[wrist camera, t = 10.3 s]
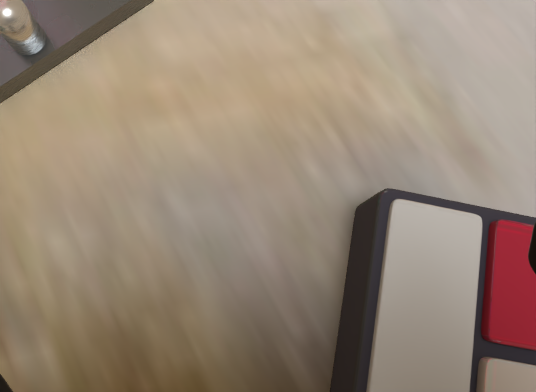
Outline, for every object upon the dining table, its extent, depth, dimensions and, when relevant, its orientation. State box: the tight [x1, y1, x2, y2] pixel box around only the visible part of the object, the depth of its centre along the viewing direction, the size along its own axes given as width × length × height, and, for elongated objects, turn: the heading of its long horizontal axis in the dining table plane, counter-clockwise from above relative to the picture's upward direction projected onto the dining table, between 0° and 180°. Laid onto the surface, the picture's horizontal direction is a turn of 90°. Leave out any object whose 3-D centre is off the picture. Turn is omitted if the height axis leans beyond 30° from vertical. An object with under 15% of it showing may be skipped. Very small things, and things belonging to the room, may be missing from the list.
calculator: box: [330, 189, 536, 392], centre depth 20 cm, size 11×4×15 cm
